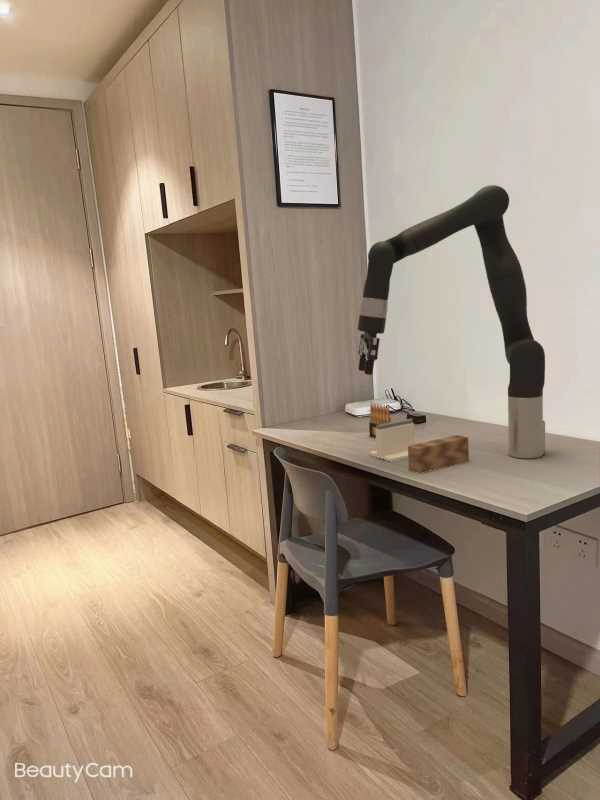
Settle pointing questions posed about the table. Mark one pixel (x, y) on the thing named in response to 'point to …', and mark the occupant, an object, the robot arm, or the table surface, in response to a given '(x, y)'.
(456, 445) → the walnut beam
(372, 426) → the ammunition clip
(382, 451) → the ridge stand
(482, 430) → the table surface
